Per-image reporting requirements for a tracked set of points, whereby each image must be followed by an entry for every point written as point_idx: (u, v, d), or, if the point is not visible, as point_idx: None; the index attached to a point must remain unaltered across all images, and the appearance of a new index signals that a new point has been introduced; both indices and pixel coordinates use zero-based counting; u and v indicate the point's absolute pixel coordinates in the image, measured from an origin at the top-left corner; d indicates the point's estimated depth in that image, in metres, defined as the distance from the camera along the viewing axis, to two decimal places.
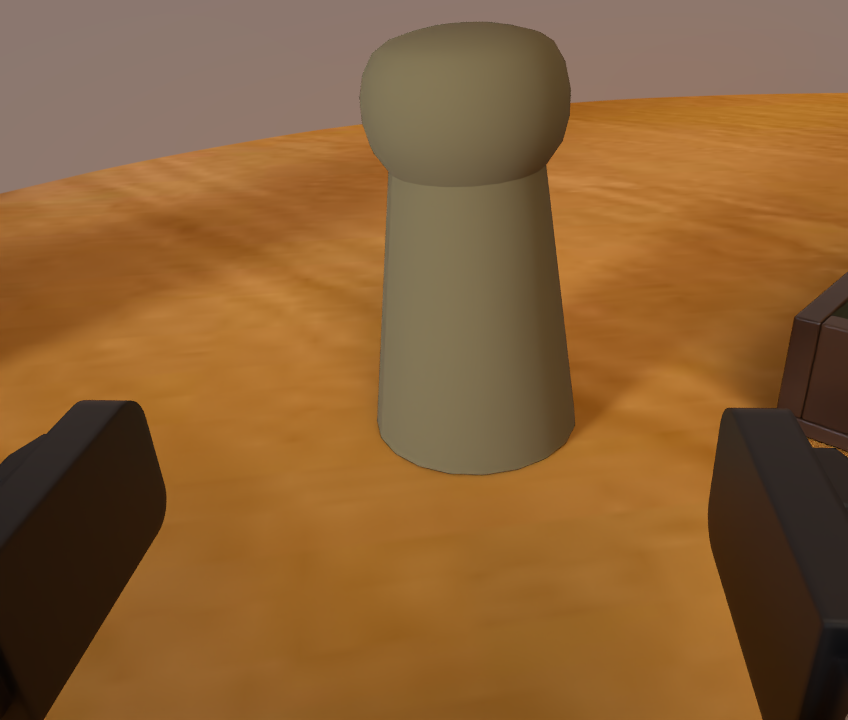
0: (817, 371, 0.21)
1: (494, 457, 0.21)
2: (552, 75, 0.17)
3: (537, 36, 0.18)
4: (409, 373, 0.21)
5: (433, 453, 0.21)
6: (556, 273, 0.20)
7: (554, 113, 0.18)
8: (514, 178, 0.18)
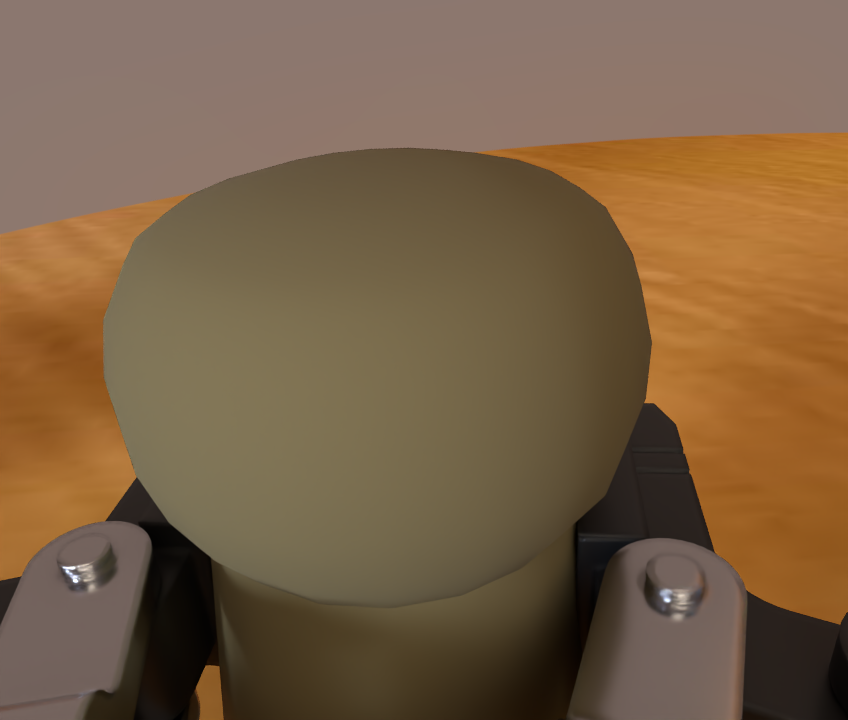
0: None
1: None
2: (612, 335, 0.06)
3: (565, 214, 0.06)
4: None
5: None
6: None
7: (613, 432, 0.06)
8: (503, 576, 0.07)
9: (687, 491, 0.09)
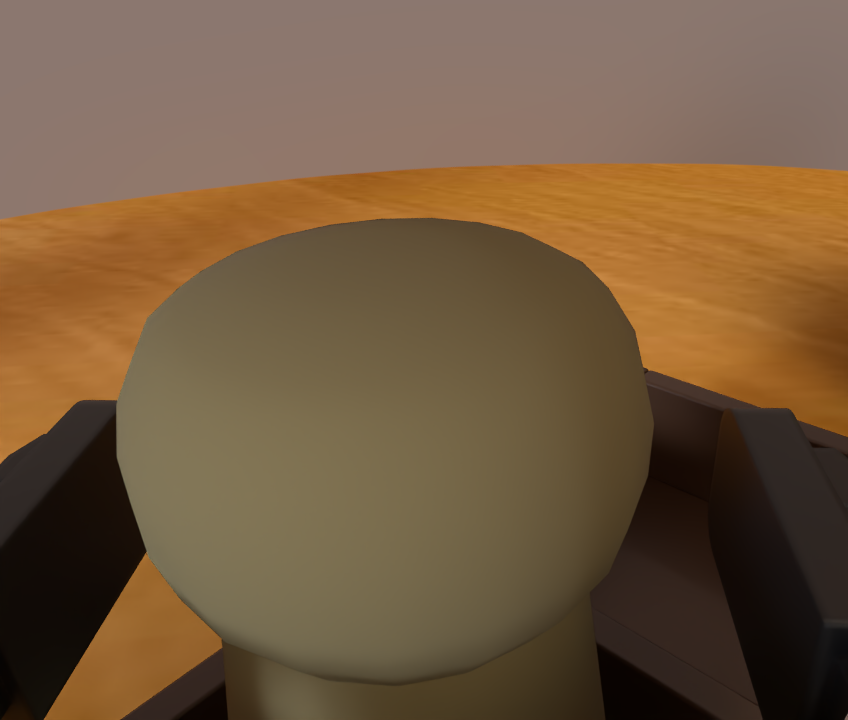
0: None
1: None
2: (614, 429, 0.06)
3: (569, 305, 0.06)
4: None
5: None
6: None
7: (615, 519, 0.06)
8: (507, 653, 0.07)
9: None
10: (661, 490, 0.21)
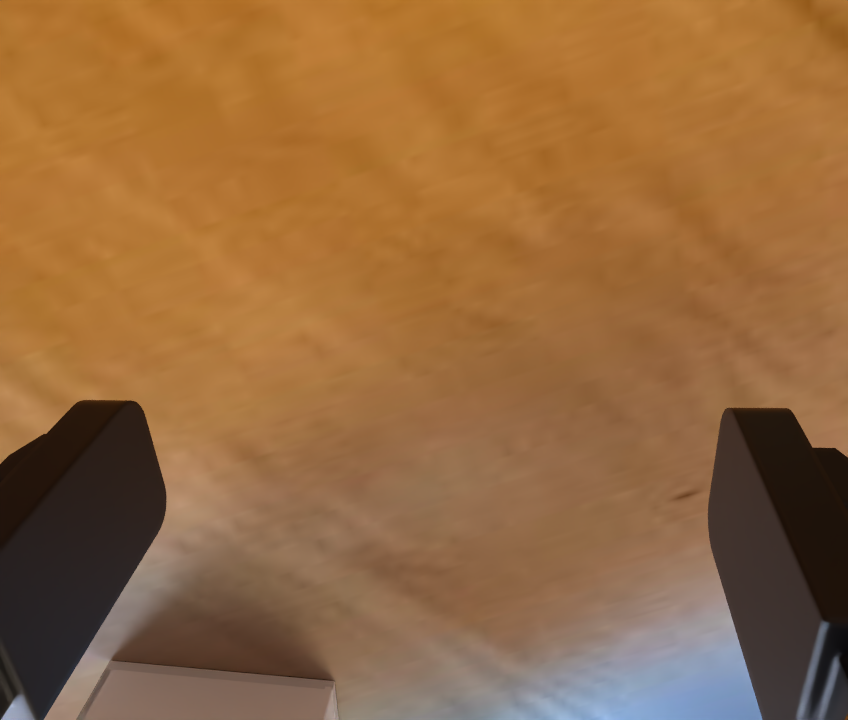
0: None
1: None
2: None
3: None
4: None
5: None
6: None
7: None
8: None
9: None
10: None
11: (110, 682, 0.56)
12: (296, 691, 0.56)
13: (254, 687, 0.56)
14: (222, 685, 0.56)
